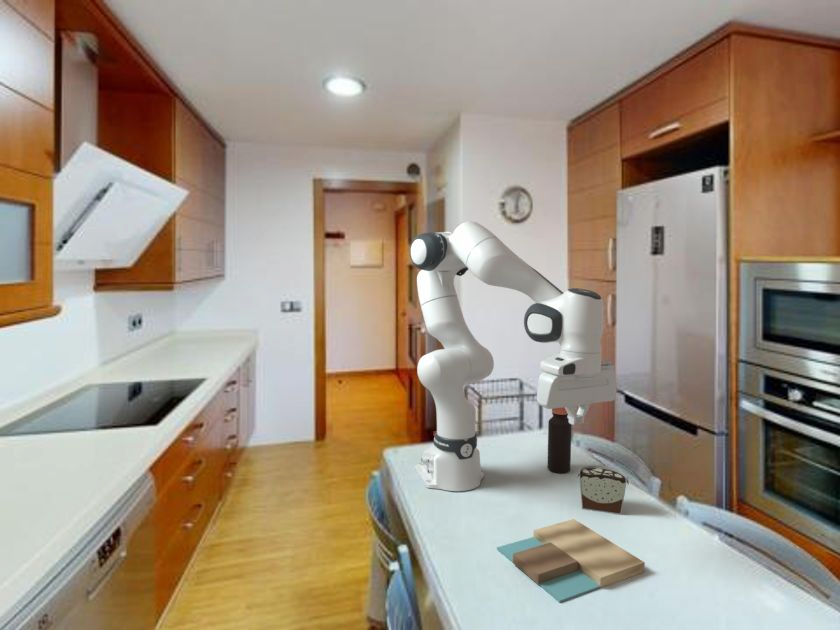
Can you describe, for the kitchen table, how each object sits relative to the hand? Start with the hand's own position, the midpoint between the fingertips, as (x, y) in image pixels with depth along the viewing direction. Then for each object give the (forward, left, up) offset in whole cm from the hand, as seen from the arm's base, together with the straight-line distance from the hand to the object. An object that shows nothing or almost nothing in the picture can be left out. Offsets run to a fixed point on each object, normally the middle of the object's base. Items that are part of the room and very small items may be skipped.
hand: (576, 423), depth 114 cm
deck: (+7, -3, -27) cm, 27 cm away
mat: (+7, -14, -27) cm, 31 cm away
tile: (+7, -14, -26) cm, 30 cm away
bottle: (-32, +24, -27) cm, 49 cm away
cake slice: (-8, +17, -27) cm, 33 cm away
